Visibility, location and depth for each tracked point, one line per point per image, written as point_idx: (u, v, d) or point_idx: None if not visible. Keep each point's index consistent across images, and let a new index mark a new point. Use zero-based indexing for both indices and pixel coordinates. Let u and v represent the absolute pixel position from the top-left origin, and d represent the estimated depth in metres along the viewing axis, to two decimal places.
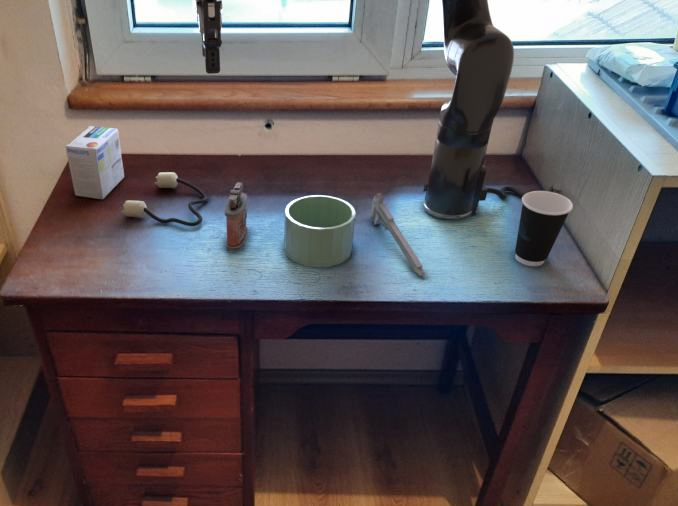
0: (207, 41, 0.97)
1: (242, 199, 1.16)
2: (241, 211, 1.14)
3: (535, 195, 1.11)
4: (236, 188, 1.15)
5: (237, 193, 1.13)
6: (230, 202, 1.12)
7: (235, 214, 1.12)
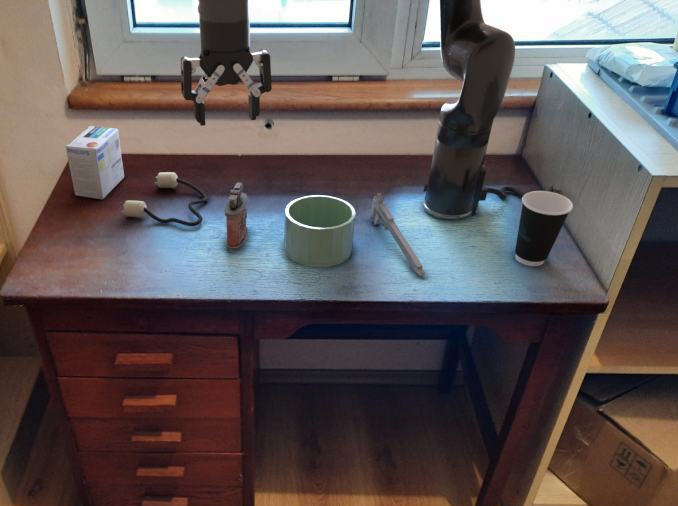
0: (181, 90, 1.04)
1: (242, 199, 1.16)
2: (241, 211, 1.14)
3: (535, 195, 1.11)
4: (236, 188, 1.15)
5: (237, 193, 1.13)
6: (230, 202, 1.12)
7: (235, 214, 1.12)
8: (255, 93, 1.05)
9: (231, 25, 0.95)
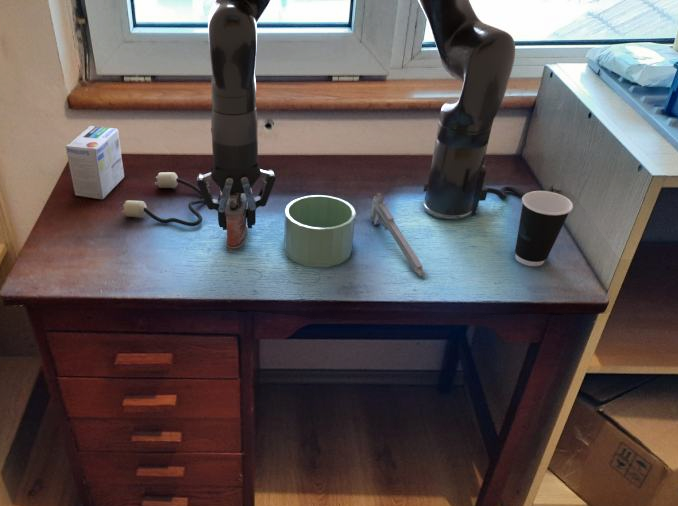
0: None
1: (242, 199, 1.16)
2: (241, 211, 1.14)
3: (535, 195, 1.11)
4: None
5: (237, 193, 1.13)
6: (230, 202, 1.12)
7: (235, 214, 1.12)
8: (251, 207, 1.15)
9: (237, 148, 1.05)
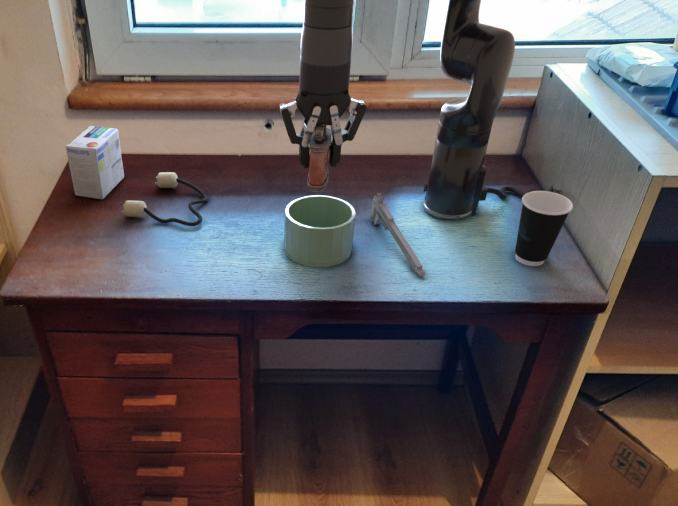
0: None
1: (326, 133, 1.06)
2: (328, 145, 1.03)
3: (535, 195, 1.11)
4: None
5: (324, 125, 1.02)
6: (317, 134, 1.02)
7: (322, 147, 1.02)
8: (337, 141, 1.04)
9: (331, 69, 0.94)
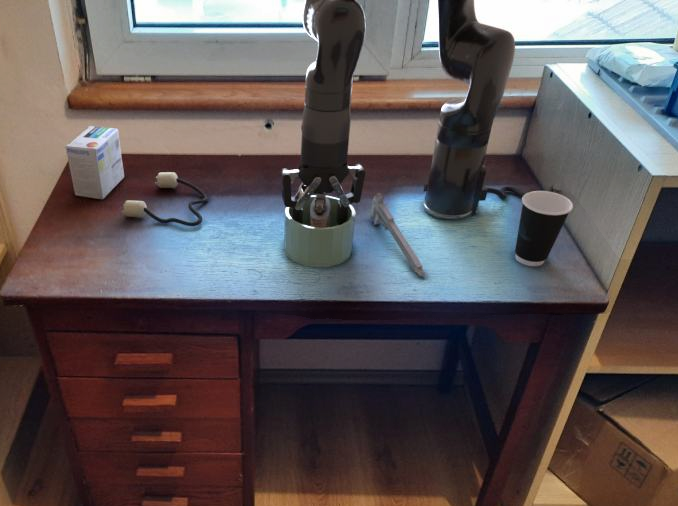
0: (283, 197, 1.11)
1: (325, 203, 1.13)
2: (327, 216, 1.10)
3: (535, 195, 1.11)
4: None
5: (323, 197, 1.10)
6: (317, 207, 1.09)
7: (323, 219, 1.09)
8: (344, 203, 1.11)
9: (331, 146, 1.01)
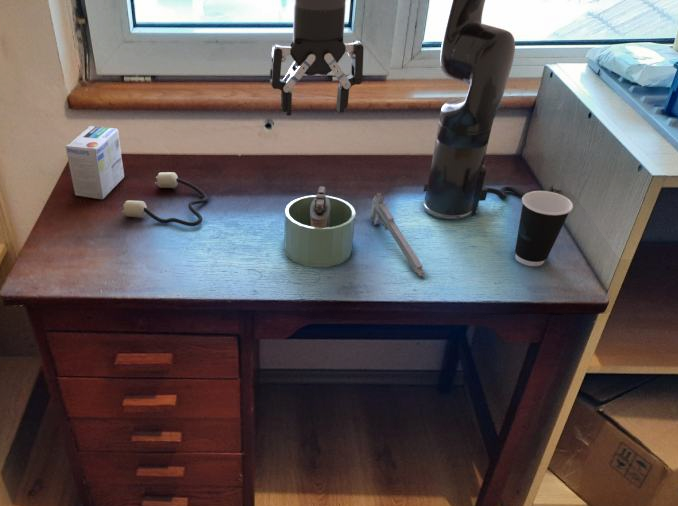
0: (270, 78, 1.02)
1: (325, 203, 1.13)
2: (327, 216, 1.10)
3: (535, 195, 1.11)
4: (320, 192, 1.11)
5: (323, 197, 1.10)
6: (317, 207, 1.09)
7: (323, 219, 1.09)
8: (345, 85, 1.02)
9: (326, 13, 0.93)
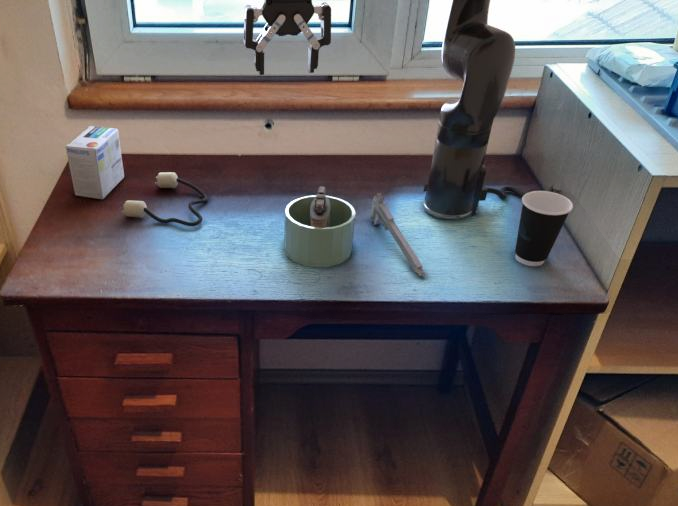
0: (244, 39, 1.08)
1: (325, 203, 1.13)
2: (327, 216, 1.10)
3: (535, 195, 1.11)
4: (320, 192, 1.11)
5: (323, 197, 1.10)
6: (317, 207, 1.09)
7: (323, 219, 1.09)
8: (314, 45, 1.08)
9: None
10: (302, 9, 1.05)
